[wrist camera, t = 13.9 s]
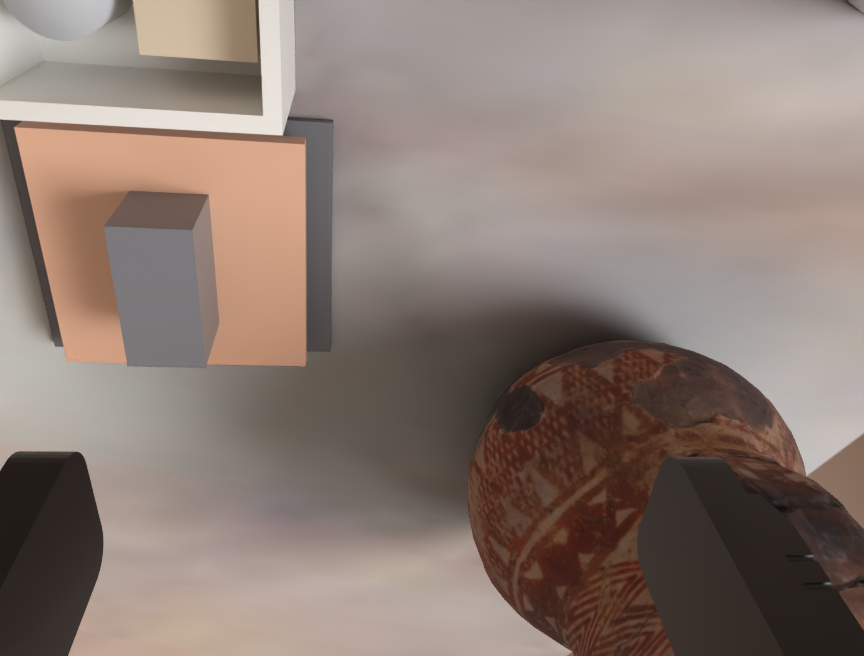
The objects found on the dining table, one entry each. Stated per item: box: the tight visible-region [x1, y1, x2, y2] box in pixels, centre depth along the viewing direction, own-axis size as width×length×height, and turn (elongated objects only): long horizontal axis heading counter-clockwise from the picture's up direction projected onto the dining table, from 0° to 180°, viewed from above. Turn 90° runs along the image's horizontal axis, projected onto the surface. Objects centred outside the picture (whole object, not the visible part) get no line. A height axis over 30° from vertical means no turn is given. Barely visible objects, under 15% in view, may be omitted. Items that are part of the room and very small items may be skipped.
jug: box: [467, 340, 864, 656], centre depth 41 cm, size 22×21×25 cm
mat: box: [1, 118, 333, 352], centre depth 41 cm, size 17×15×1 cm
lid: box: [14, 121, 307, 368], centre depth 38 cm, size 14×14×7 cm
